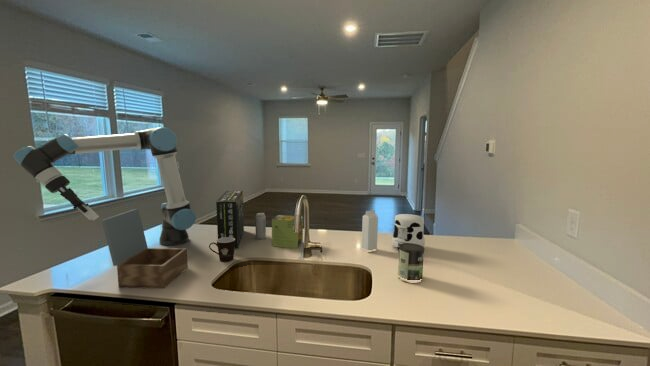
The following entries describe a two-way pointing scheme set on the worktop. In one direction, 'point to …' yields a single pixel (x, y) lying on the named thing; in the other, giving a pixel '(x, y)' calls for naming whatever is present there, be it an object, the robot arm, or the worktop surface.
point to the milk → (369, 230)
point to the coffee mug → (225, 248)
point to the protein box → (286, 232)
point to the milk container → (408, 230)
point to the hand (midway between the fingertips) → (94, 218)
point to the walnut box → (152, 268)
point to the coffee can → (411, 261)
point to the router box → (230, 216)
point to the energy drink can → (260, 225)
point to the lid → (124, 235)
